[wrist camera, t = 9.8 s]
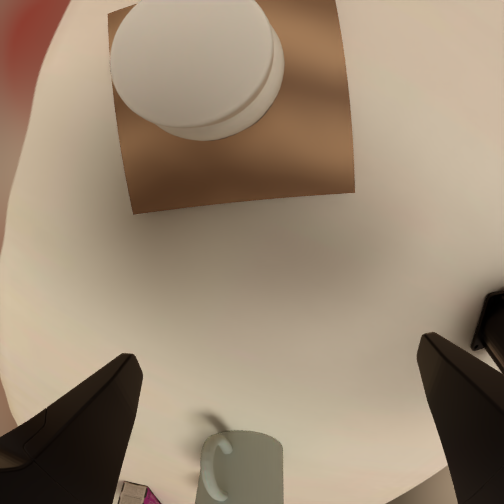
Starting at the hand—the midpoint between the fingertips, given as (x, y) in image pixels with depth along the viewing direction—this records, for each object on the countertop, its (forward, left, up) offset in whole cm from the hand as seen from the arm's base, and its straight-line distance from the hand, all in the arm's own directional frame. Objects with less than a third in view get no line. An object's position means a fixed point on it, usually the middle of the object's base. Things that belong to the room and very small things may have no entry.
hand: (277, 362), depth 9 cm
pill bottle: (+9, +2, -12) cm, 15 cm away
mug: (-25, +6, -13) cm, 29 cm away
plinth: (+9, +2, -13) cm, 16 cm away
